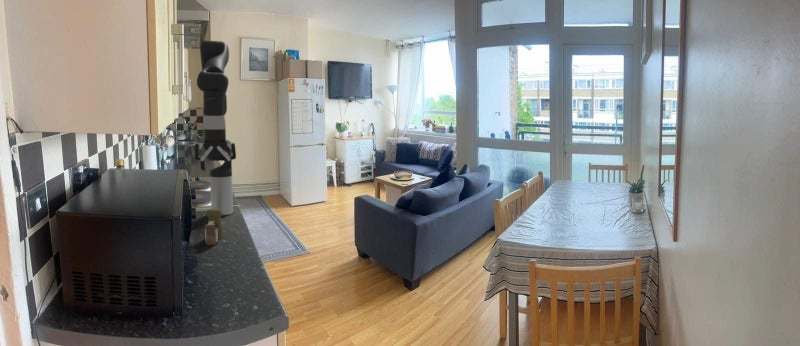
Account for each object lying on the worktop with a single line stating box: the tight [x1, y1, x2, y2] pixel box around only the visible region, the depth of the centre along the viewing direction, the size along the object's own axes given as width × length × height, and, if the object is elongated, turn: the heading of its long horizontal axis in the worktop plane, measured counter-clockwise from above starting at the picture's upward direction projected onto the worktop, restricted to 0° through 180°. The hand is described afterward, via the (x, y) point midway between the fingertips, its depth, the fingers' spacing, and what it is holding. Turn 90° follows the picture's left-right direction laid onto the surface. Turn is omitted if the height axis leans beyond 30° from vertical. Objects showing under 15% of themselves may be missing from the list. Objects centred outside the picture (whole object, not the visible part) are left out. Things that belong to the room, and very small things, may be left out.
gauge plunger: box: [204, 225, 220, 244], centre depth 167 cm, size 5×4×6 cm
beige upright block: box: [205, 221, 217, 246], centre depth 165 cm, size 6×3×8 cm, turn 17°
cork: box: [206, 208, 225, 240], centre depth 172 cm, size 6×6×11 cm
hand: (216, 170), depth 173 cm, fingers open, 8 cm apart
